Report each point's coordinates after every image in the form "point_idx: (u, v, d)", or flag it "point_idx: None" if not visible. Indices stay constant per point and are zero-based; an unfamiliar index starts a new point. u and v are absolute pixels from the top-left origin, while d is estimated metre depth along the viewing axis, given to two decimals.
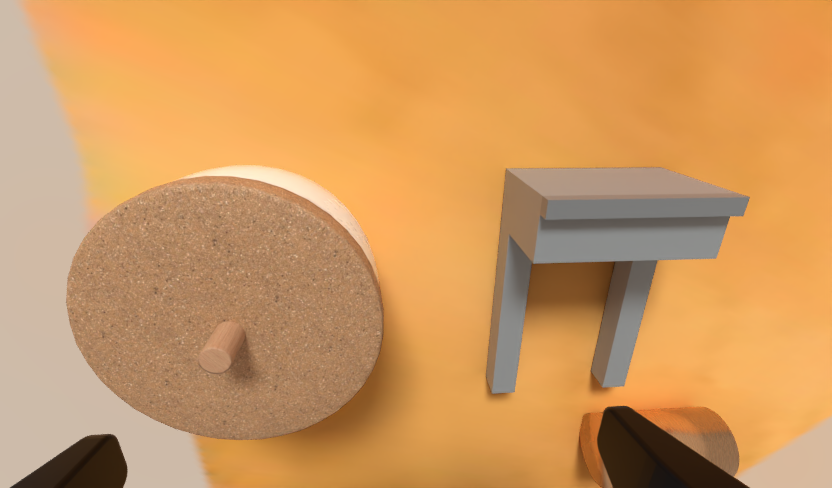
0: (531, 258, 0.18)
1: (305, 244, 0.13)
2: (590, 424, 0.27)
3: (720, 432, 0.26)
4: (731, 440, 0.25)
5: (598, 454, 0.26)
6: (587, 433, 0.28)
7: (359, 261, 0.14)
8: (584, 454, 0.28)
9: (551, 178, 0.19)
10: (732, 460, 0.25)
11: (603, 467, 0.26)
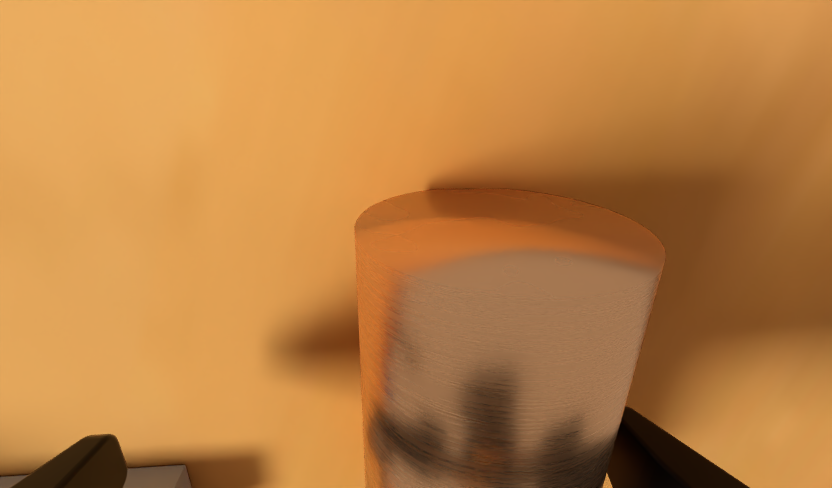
0: None
1: None
2: None
3: (629, 332, 0.05)
4: (656, 286, 0.05)
5: None
6: None
7: None
8: None
9: None
10: None
11: None
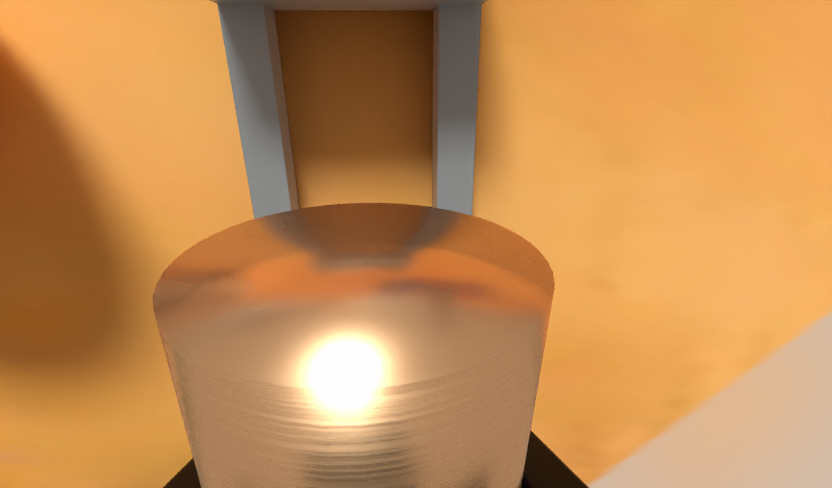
0: None
1: None
2: None
3: (233, 432, 0.03)
4: (276, 405, 0.03)
5: None
6: None
7: None
8: None
9: None
10: (426, 417, 0.03)
11: None
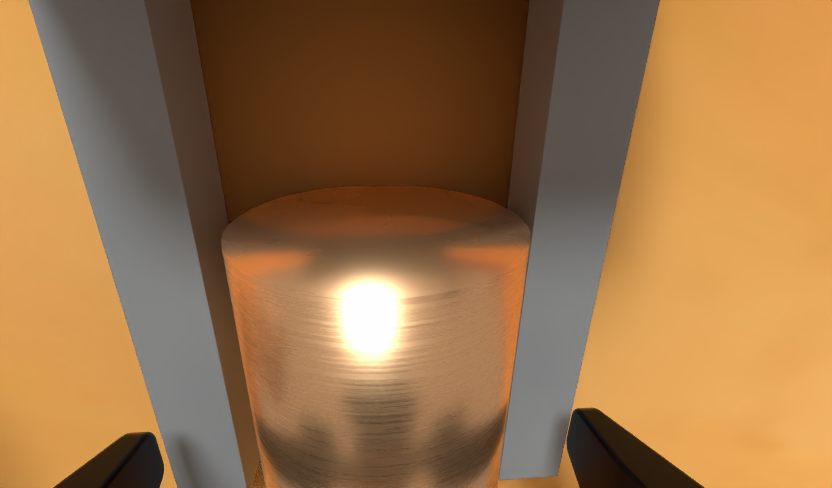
0: None
1: None
2: None
3: (308, 344, 0.04)
4: (348, 314, 0.04)
5: None
6: None
7: None
8: None
9: None
10: (452, 320, 0.04)
11: None
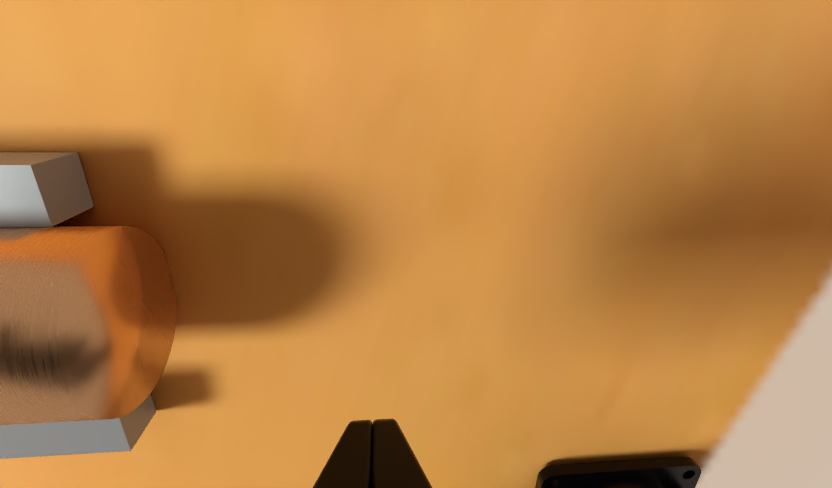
0: None
1: None
2: (140, 375, 0.10)
3: None
4: None
5: (123, 311, 0.09)
6: (154, 339, 0.11)
7: None
8: (167, 276, 0.11)
9: None
10: None
11: (107, 289, 0.09)
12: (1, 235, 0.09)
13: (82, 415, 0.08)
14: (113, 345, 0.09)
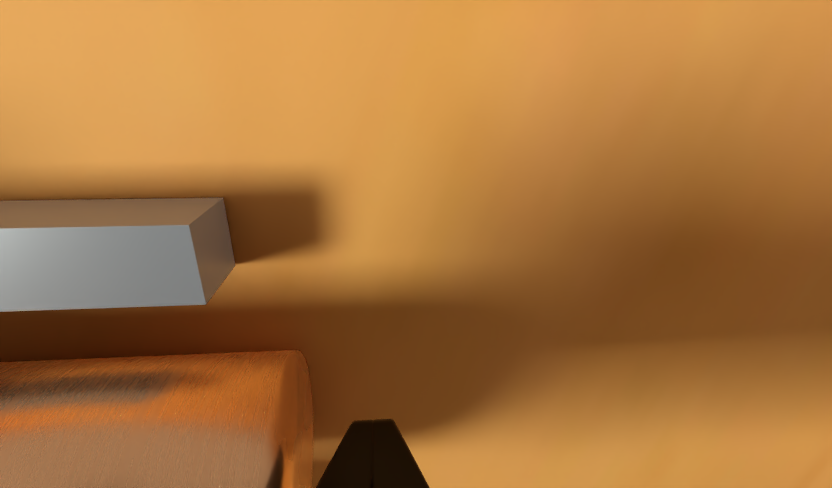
0: None
1: None
2: None
3: None
4: None
5: (288, 479, 0.07)
6: (305, 448, 0.09)
7: None
8: (302, 367, 0.09)
9: None
10: None
11: None
12: (114, 465, 0.06)
13: None
14: None
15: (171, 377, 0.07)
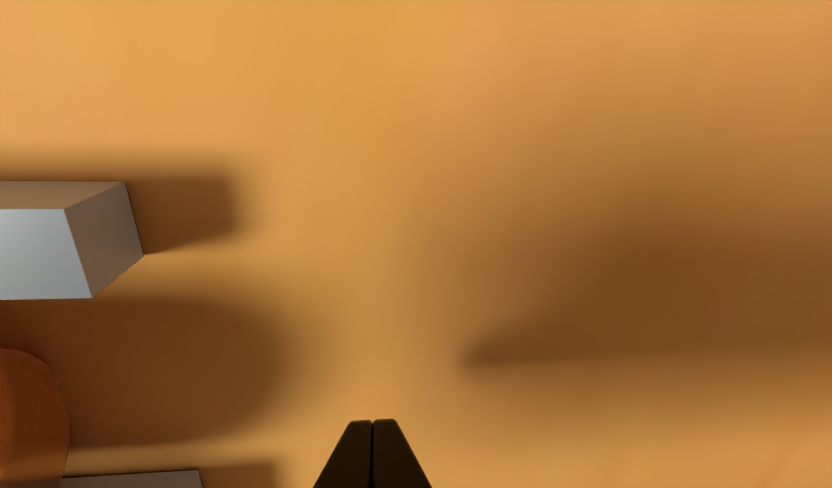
0: None
1: None
2: None
3: None
4: None
5: None
6: (31, 462, 0.08)
7: None
8: (30, 370, 0.08)
9: None
10: None
11: None
12: None
13: None
14: None
15: None
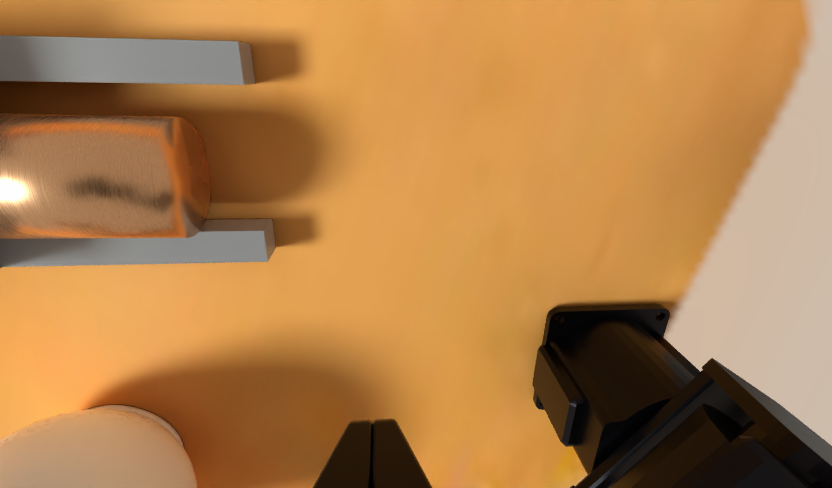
0: None
1: None
2: (198, 210, 0.16)
3: None
4: None
5: (182, 175, 0.15)
6: (200, 187, 0.16)
7: None
8: (199, 142, 0.16)
9: None
10: None
11: (171, 165, 0.14)
12: (96, 130, 0.13)
13: (177, 236, 0.15)
14: (182, 197, 0.15)
15: (124, 116, 0.14)
